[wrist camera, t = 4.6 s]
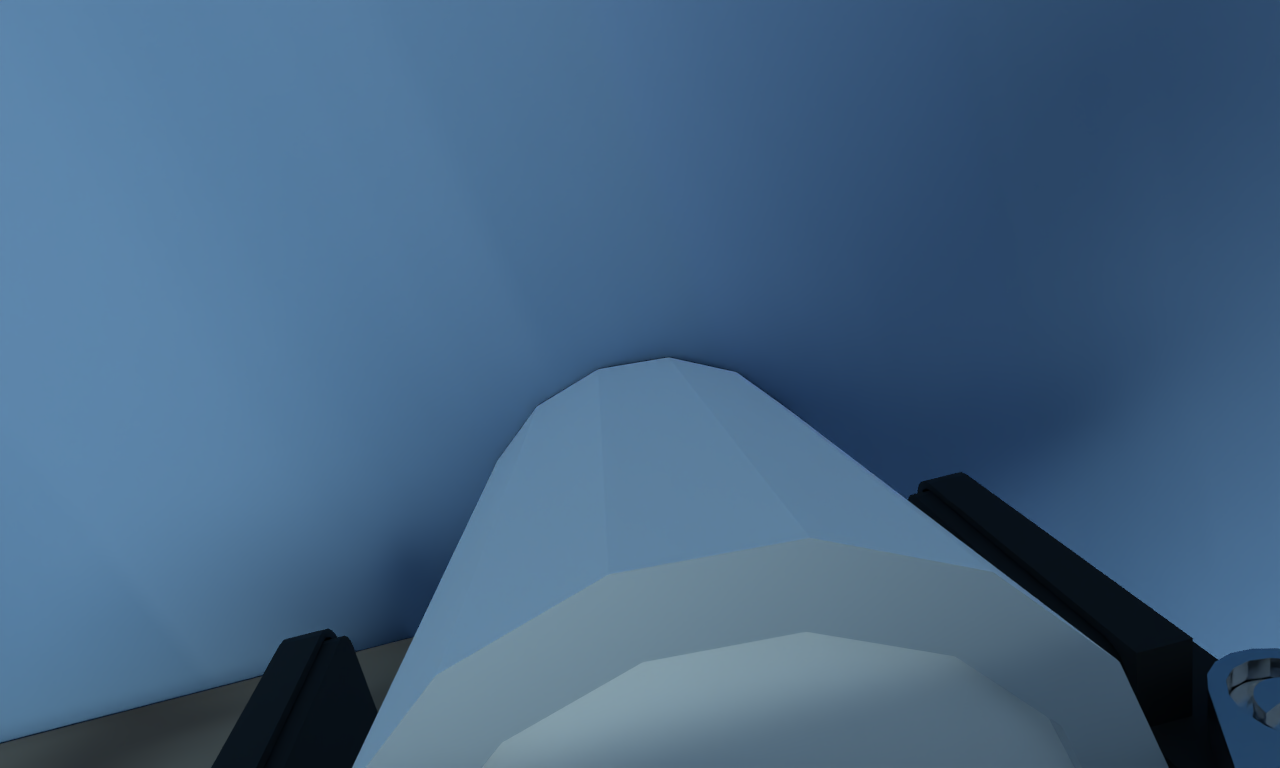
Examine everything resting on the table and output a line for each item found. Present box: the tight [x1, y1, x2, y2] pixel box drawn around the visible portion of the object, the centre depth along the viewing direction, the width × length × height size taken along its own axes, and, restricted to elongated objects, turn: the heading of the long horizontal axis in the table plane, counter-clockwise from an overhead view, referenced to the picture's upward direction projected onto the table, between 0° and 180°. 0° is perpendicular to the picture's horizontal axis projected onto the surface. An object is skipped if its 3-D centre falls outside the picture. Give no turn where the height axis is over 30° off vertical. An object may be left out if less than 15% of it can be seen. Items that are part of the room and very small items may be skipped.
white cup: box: [352, 357, 1169, 768], centre depth 9 cm, size 7×7×7 cm
